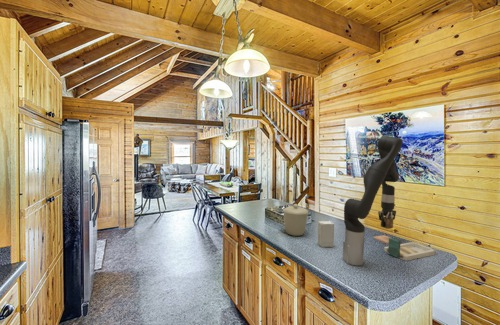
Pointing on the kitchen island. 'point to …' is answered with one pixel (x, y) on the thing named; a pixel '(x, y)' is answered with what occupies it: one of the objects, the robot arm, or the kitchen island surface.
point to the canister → (295, 220)
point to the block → (388, 223)
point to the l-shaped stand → (398, 248)
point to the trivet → (382, 239)
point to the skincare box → (326, 233)
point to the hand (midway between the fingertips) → (386, 226)
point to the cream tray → (421, 250)
